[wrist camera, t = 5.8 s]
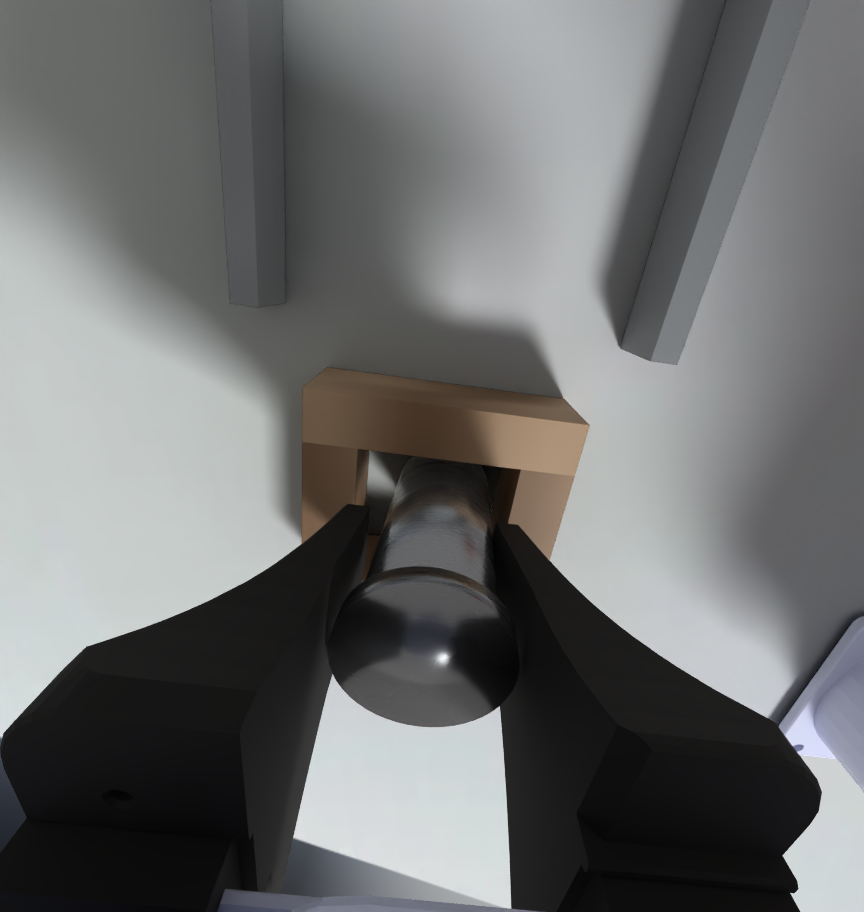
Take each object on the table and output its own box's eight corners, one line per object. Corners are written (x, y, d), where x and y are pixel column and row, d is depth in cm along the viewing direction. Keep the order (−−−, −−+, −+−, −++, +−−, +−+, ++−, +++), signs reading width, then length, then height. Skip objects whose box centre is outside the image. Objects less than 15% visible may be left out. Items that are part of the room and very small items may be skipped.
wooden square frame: (564, 399, 13) (589, 425, 11) (514, 584, 16) (526, 636, 14) (327, 367, 13) (302, 387, 11) (321, 562, 16) (301, 610, 14)
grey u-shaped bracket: (821, -195, 8) (930, -327, 6) (643, 351, 13) (676, 365, 11) (241, -300, 8) (181, -473, 6) (261, 299, 12) (229, 303, 10)
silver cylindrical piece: (507, 448, 13) (543, 611, 7) (483, 539, 15) (494, 741, 9) (397, 427, 13) (333, 571, 7) (384, 520, 15) (321, 708, 9)
